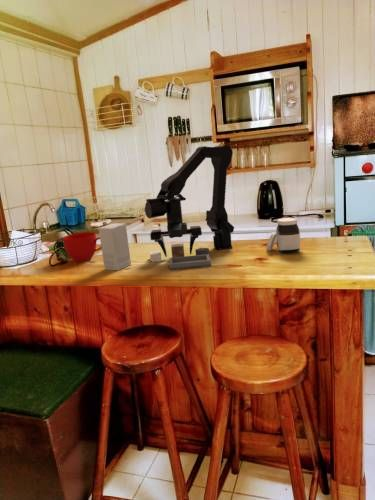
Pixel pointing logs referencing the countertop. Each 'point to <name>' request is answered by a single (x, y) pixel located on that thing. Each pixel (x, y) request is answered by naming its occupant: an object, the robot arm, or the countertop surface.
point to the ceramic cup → (81, 246)
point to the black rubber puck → (202, 251)
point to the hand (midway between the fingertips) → (178, 255)
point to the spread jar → (285, 236)
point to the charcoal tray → (189, 262)
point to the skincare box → (114, 246)
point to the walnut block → (177, 250)
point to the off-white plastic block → (155, 255)
